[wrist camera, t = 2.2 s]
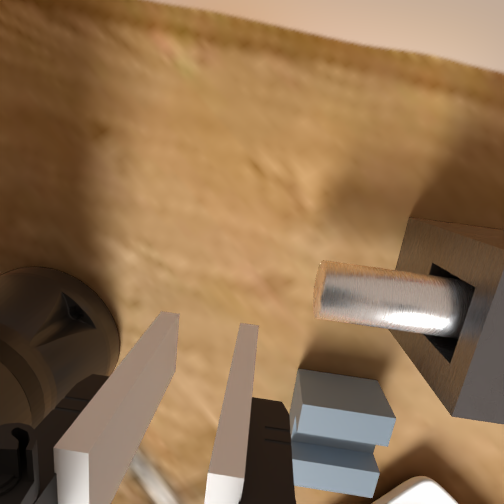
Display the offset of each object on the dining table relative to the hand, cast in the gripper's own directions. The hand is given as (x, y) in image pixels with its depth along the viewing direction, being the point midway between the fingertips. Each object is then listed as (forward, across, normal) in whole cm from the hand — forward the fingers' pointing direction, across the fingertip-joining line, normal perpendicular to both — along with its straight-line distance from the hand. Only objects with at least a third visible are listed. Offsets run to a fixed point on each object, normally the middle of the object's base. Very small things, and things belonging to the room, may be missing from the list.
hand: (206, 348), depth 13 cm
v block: (+17, +11, -16) cm, 25 cm away
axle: (+9, +16, 0) cm, 18 cm away
